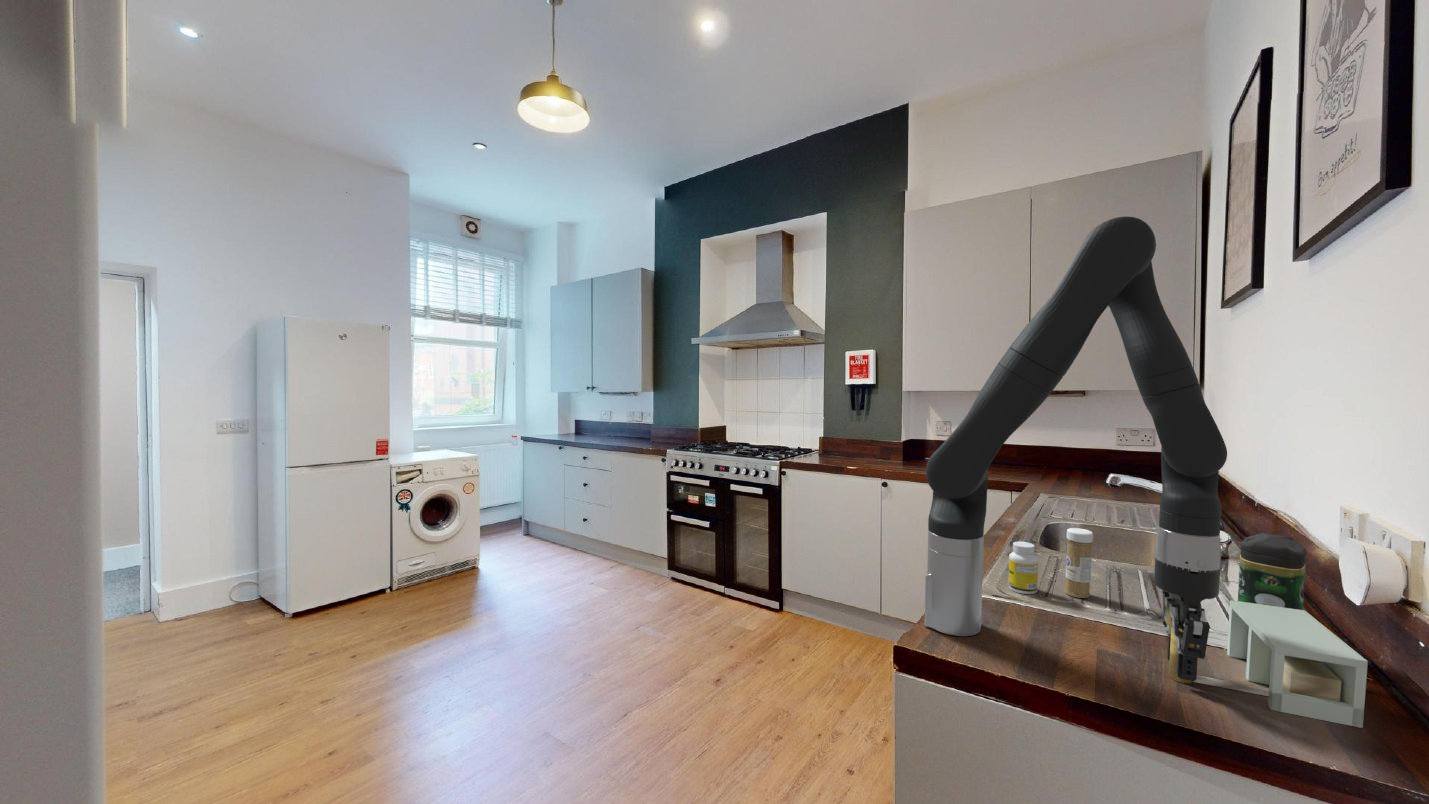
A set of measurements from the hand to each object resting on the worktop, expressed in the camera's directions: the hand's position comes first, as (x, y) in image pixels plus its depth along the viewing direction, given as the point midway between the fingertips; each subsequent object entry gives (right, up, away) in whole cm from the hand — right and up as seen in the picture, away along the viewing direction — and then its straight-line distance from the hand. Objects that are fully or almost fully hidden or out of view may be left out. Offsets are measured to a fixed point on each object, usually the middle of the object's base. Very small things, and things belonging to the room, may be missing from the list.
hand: (1181, 669), depth 87 cm
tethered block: (+7, -2, -3) cm, 8 cm away
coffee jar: (+23, -1, +10) cm, 25 cm away
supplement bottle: (-6, +1, +34) cm, 35 cm away
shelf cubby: (+14, -1, -2) cm, 14 cm away
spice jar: (+4, +1, +31) cm, 32 cm away
